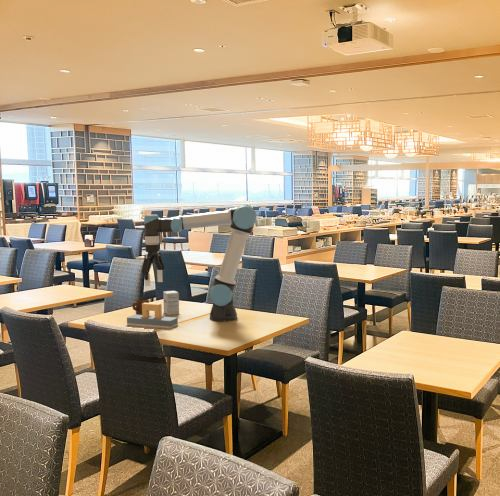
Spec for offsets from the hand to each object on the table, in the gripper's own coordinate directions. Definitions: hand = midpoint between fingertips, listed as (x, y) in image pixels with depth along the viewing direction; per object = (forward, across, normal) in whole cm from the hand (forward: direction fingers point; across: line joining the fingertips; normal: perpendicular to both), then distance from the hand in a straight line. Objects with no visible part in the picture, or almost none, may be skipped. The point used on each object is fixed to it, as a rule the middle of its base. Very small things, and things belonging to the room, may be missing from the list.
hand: (154, 284), depth 301 cm
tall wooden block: (+21, +2, -1) cm, 21 cm away
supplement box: (+22, -27, -4) cm, 35 cm away
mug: (+22, -15, -18) cm, 32 cm away
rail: (+22, +2, -1) cm, 22 cm away
